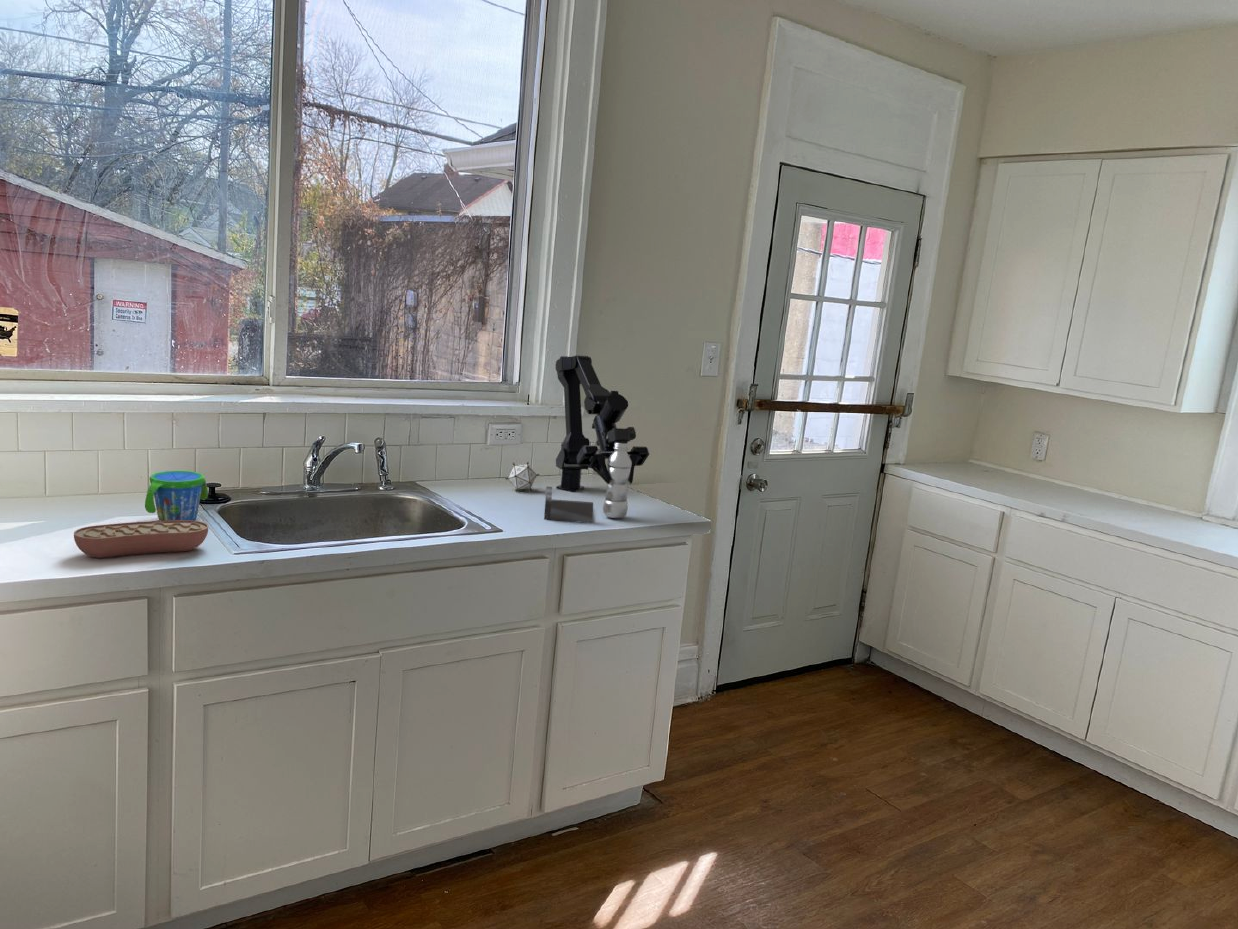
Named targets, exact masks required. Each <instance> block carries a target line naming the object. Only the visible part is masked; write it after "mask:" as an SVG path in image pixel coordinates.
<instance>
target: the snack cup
mask: <svg viewBox="0 0 1238 929" xmlns="http://www.w3.org/2000/svg"><path fill="white" fill-rule="evenodd" d="M205 478H206V477H205V475H204V474H202V473H200V472H196V471H190V470H168V471H167V470H166V471H165V470H164V471H159V472H155V473H152V474H150V477H149V483H150V485H149V487H148V488H147V492H146V495H145V496H146V497H145V501H144V508H145V510H146V512H147V513H149V514H155V513H156V514H157V518H158V521H172V520H192V521H197V518H198V513H199V507H200V500H203V501H205V500H207V498H208V496H209V493H208V485H207V481H206V479H205Z"/></svg>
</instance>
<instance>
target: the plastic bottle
mask: <svg viewBox="0 0 1238 929" xmlns="http://www.w3.org/2000/svg"><path fill="white" fill-rule="evenodd" d="M613 449H615V450H614V452H613V453H612V454H611V455H610V457H609V459H607V461H606V462H607V463H606V467H607V470H608V474H609V477H610V483H609V484H607V483H606V484H607V486H606V487H607V488H606V493H605V499H604V501H603V506H602V511H603V515H604V516H605V517H607V518H612V519H622V518H625V517H626V516H627V514H628V511H629V510H628V509H629V507H628V506H629V504H628V485H629V481H628V479H629V474H630V470H631V465H632V461H631V458H630V456H629V455H628V453H627V452H628V451H629V441H628V442H624V441H621V442H618V441H615V442H614V448H613Z"/></svg>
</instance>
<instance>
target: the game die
mask: <svg viewBox="0 0 1238 929" xmlns="http://www.w3.org/2000/svg"><path fill="white" fill-rule="evenodd" d="M512 465H513V466H512V469H511V471H510V473H509V475H508V477H506V478H504V480H505V481H509V482H510V483H511V484H512V486H514V488H515V492H516V493H517V492H518V491H519V490H530V491H531V492H533V489H532V486H533V485H534V483H535V480H536V478H537V477H539V476H540V474H539V473H536V472H535V471H534V469H532V467H531V465H529V461H527V462H526V463H525V464H523V463H522V464H516V463H515V462H512Z"/></svg>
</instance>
